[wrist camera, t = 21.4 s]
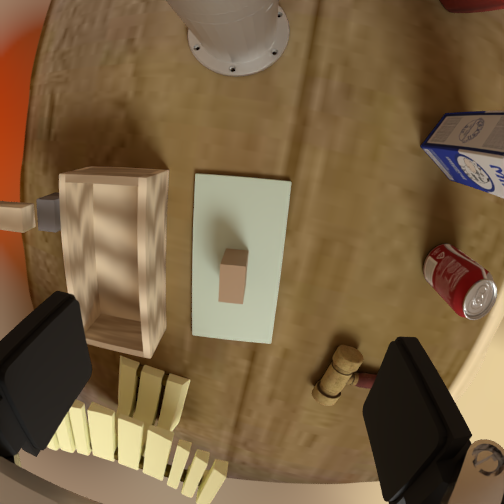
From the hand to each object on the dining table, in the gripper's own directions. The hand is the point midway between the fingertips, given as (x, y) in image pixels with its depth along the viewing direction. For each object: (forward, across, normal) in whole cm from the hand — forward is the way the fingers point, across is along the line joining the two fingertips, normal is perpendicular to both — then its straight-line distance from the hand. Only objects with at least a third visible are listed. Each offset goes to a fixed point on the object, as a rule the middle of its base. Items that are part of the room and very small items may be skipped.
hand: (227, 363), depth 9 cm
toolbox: (+33, +19, +11) cm, 40 cm away
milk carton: (+34, -25, -10) cm, 43 cm away
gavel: (+34, -24, +29) cm, 51 cm away
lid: (+34, +2, +11) cm, 36 cm away
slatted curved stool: (+34, +16, +40) cm, 55 cm away
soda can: (+34, -28, +7) cm, 44 cm away
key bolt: (+24, +32, +4) cm, 40 cm away
